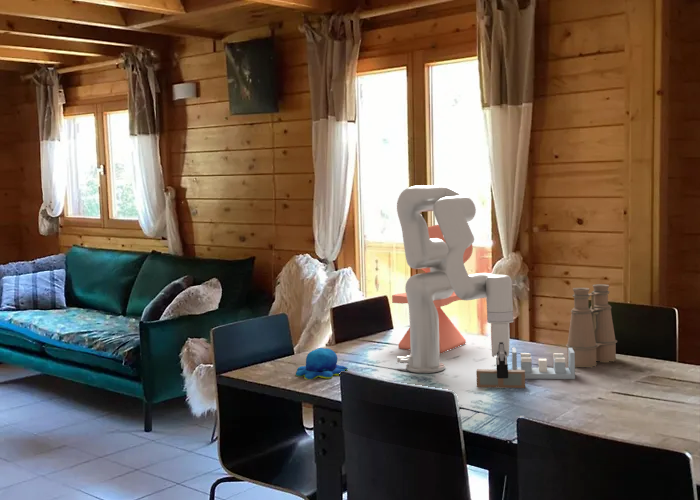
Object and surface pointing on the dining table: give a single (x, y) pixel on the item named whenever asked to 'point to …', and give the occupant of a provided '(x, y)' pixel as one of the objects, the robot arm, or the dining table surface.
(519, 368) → the display cradle
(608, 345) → the binoculars
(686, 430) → the dining table surface
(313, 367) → the plush toy
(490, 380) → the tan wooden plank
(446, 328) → the chair
